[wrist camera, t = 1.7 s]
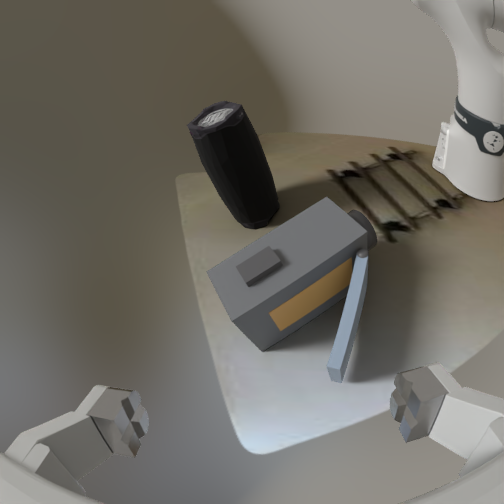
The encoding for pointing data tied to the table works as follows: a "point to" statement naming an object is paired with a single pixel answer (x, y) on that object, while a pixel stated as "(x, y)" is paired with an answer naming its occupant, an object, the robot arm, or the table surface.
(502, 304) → the table surface
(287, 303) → the camcorder body
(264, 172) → the portable speaker
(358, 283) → the side panel
